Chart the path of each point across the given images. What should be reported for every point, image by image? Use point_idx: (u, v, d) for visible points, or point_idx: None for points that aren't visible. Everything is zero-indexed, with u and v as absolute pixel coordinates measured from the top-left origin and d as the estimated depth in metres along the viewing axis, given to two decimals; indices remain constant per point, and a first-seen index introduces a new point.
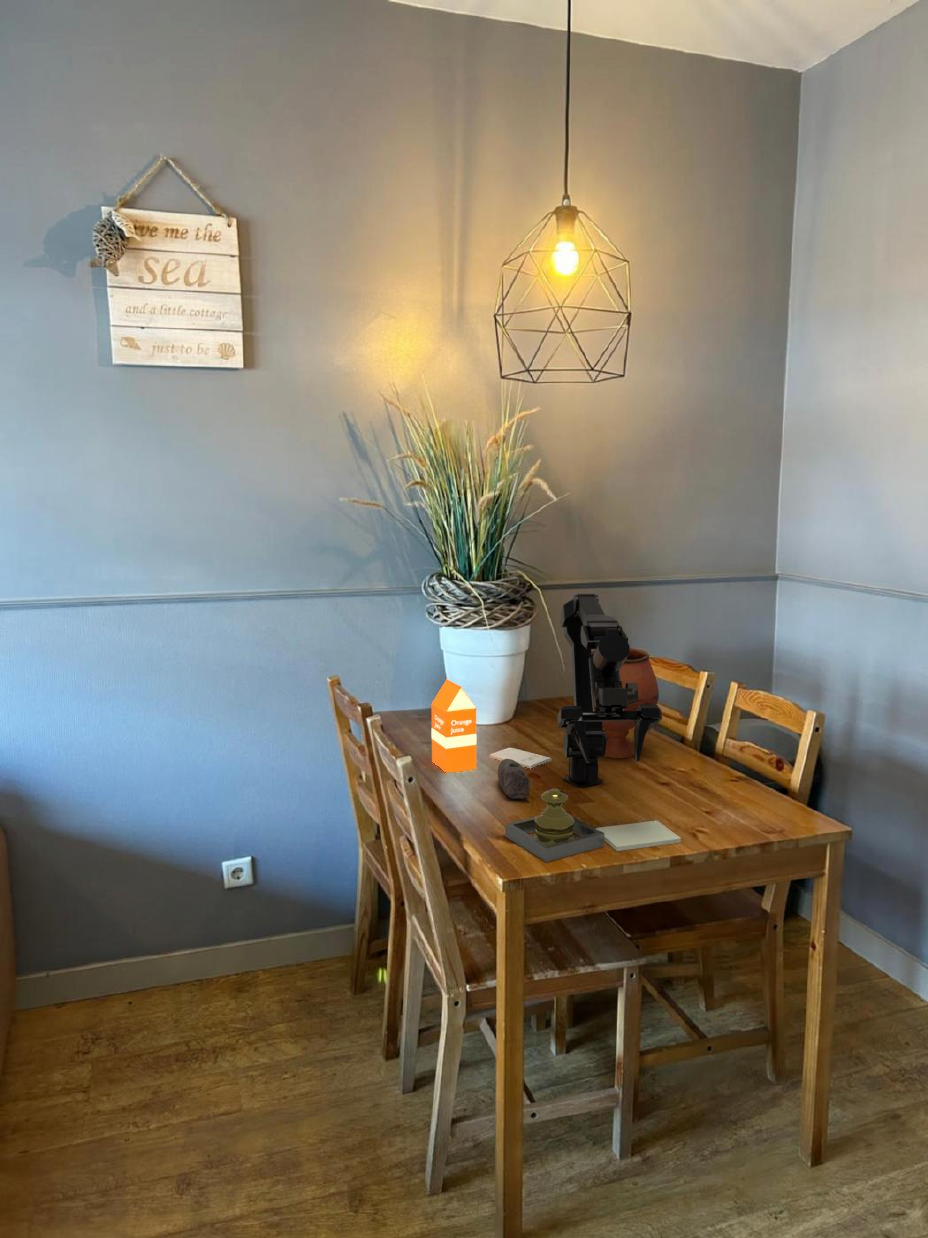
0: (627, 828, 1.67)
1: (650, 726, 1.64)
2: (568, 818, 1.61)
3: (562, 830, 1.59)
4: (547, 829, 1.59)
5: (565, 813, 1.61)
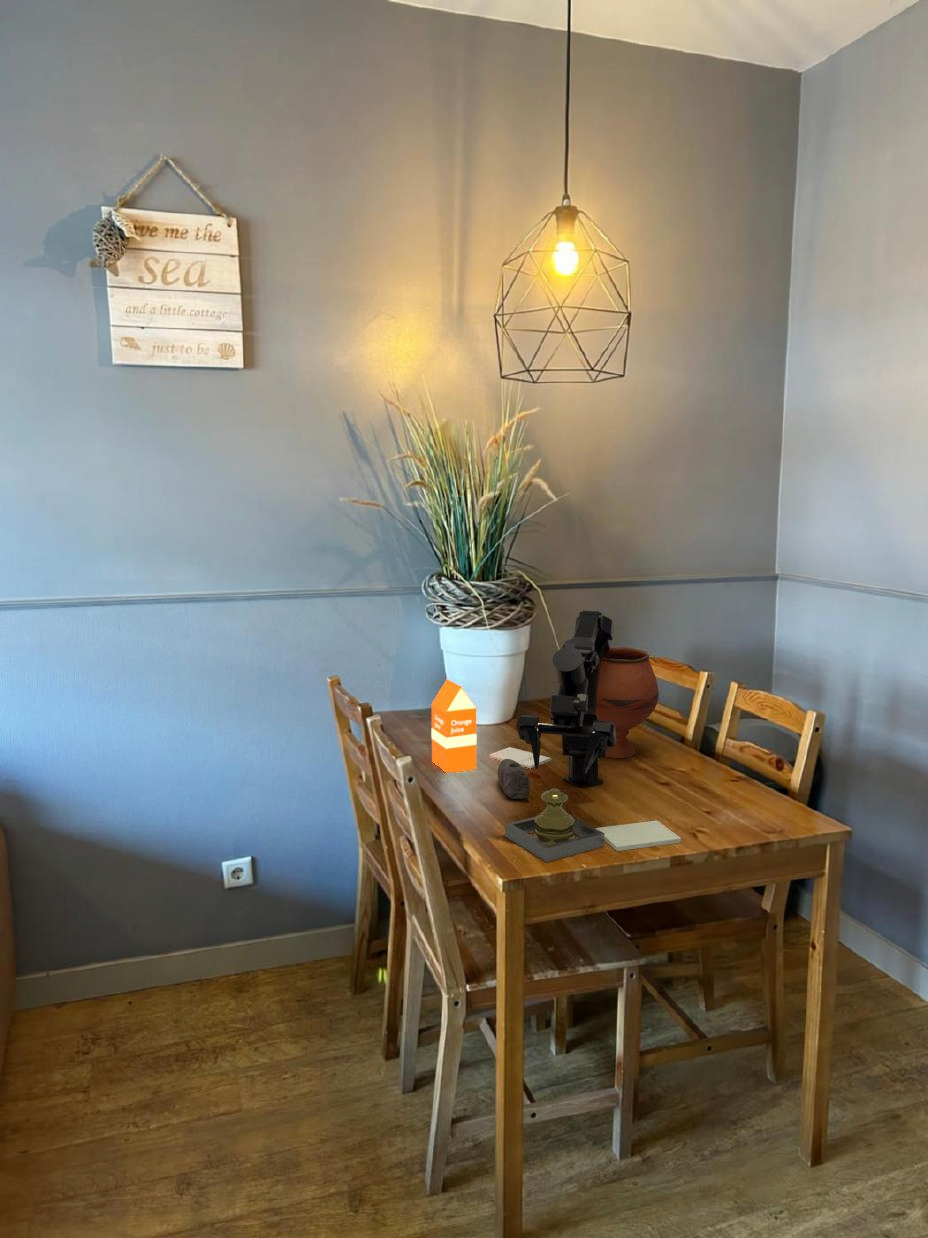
0: (627, 828, 1.67)
1: (603, 742, 1.67)
2: (568, 818, 1.61)
3: (562, 830, 1.59)
4: (547, 829, 1.59)
5: (565, 813, 1.61)
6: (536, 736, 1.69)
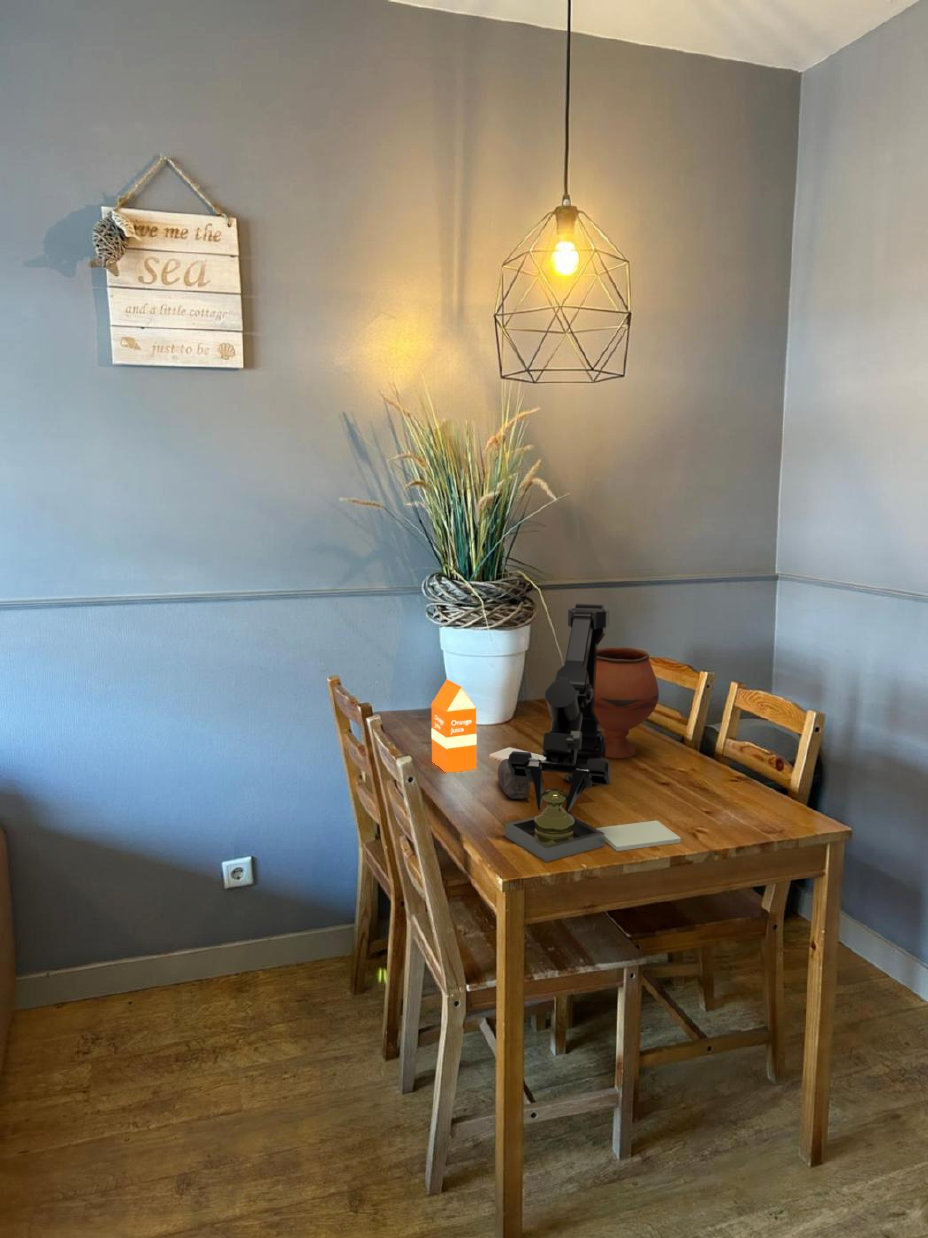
0: (627, 828, 1.67)
1: (587, 779, 1.62)
2: (568, 818, 1.61)
3: (562, 829, 1.59)
4: (547, 829, 1.59)
5: (565, 813, 1.61)
6: (539, 775, 1.63)
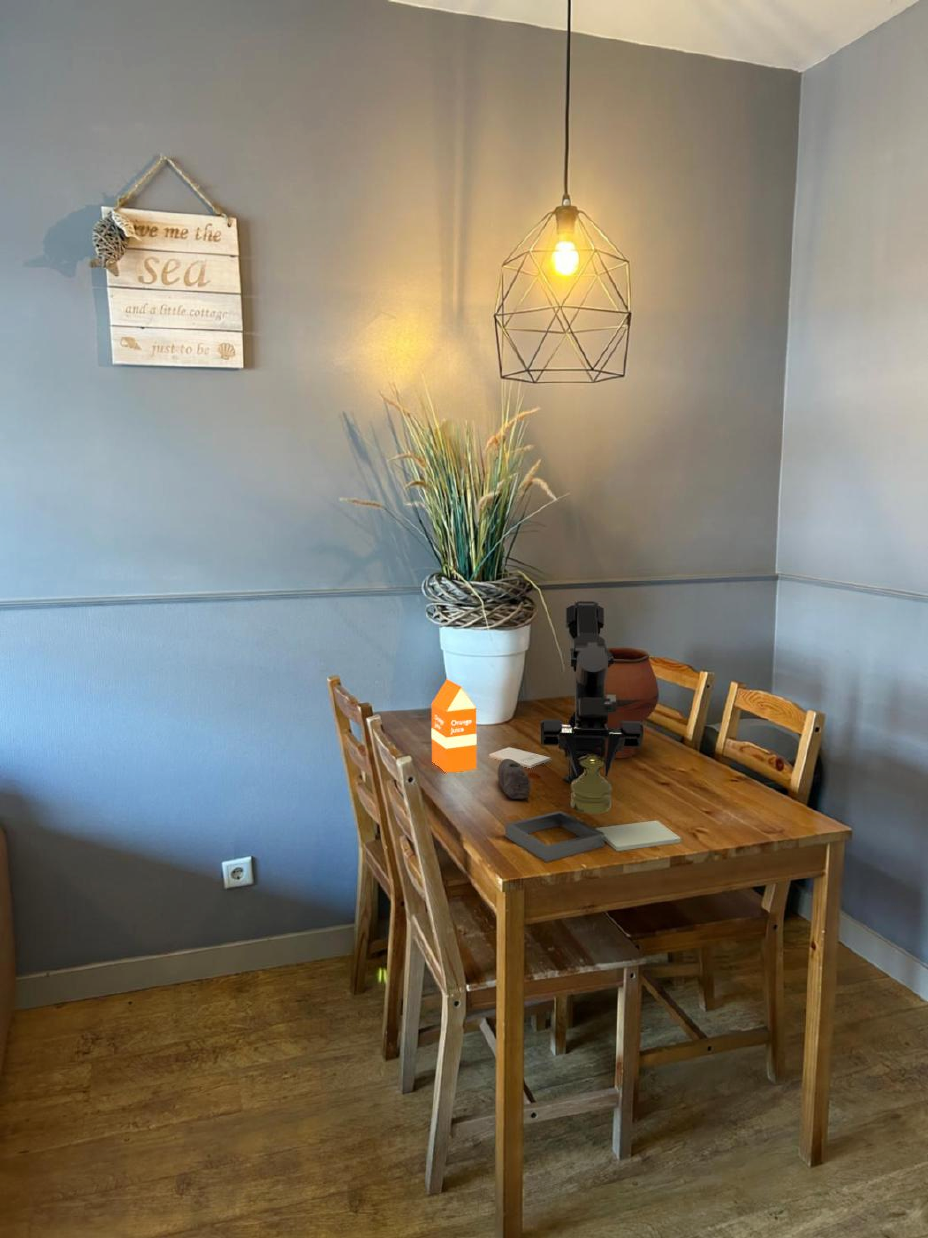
0: (627, 828, 1.67)
1: (621, 742, 1.62)
2: (606, 782, 1.60)
3: (603, 794, 1.58)
4: (588, 794, 1.58)
5: (602, 777, 1.61)
6: (574, 741, 1.61)
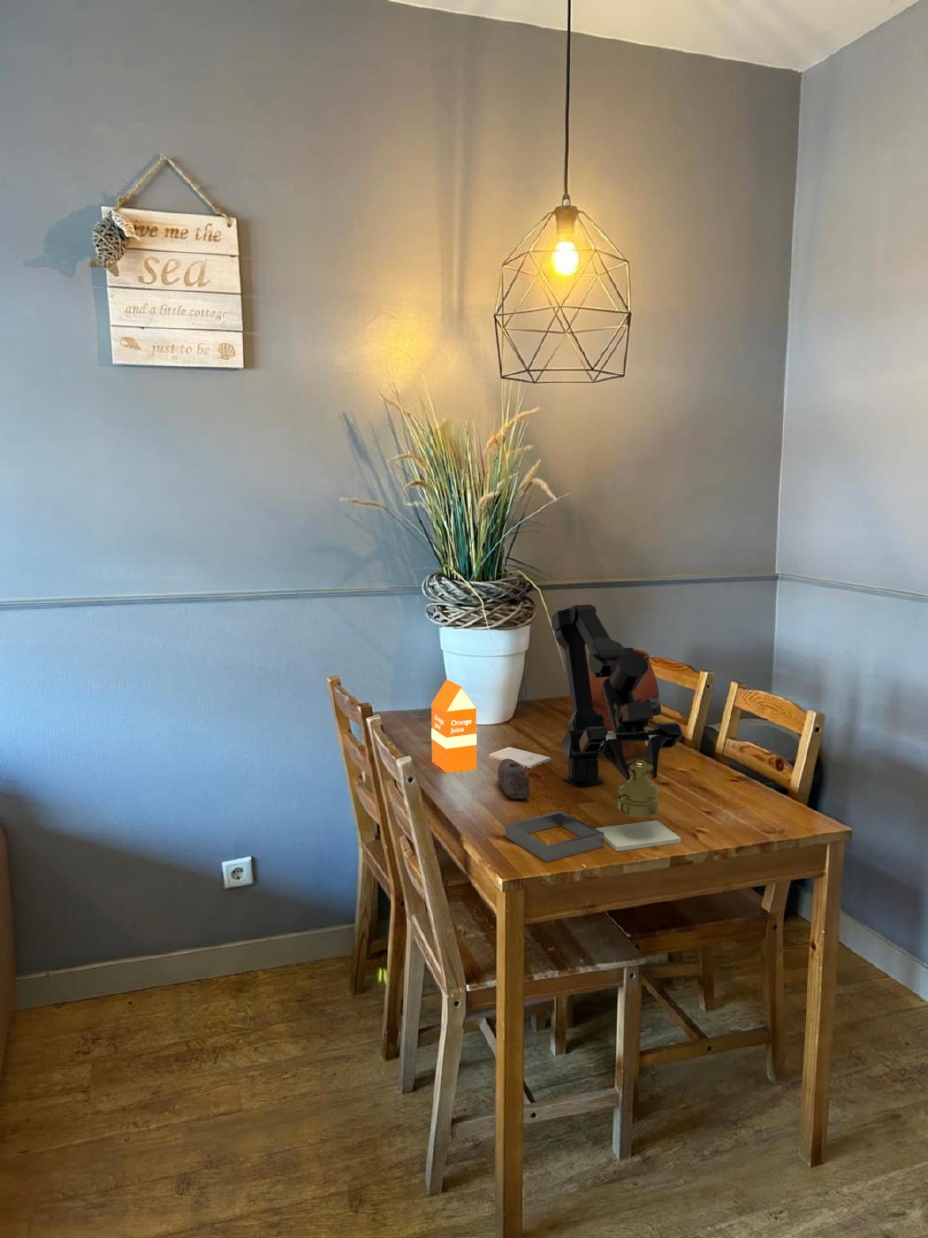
0: (627, 828, 1.67)
1: (661, 744, 1.66)
2: (653, 784, 1.63)
3: (655, 796, 1.61)
4: (643, 798, 1.60)
5: (649, 780, 1.63)
6: (621, 746, 1.63)
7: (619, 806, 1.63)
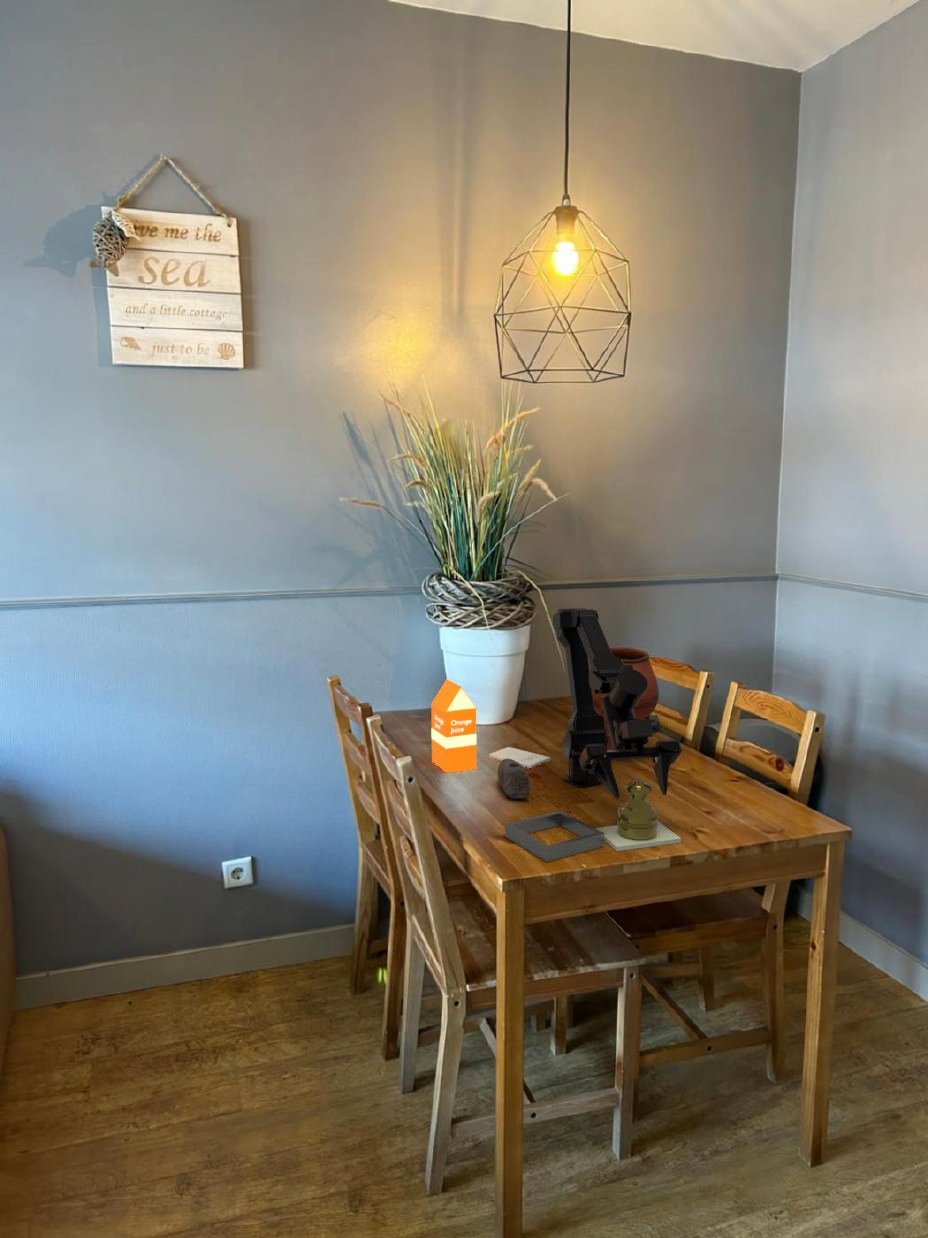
0: None
1: (671, 760, 1.67)
2: (652, 807, 1.64)
3: (654, 819, 1.61)
4: (642, 821, 1.60)
5: None
6: (610, 764, 1.63)
7: (618, 829, 1.64)
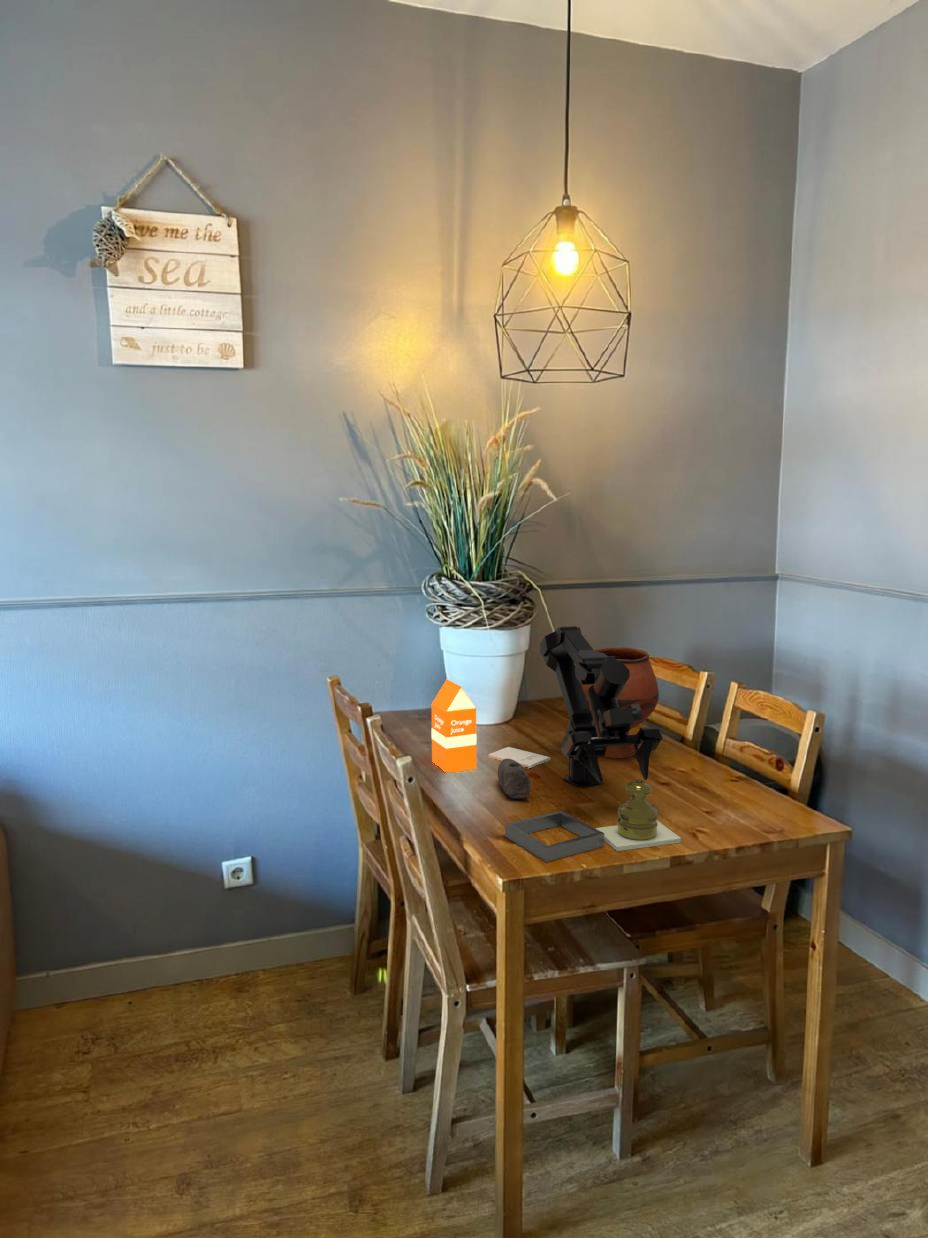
0: None
1: (652, 747, 1.75)
2: (652, 807, 1.64)
3: (654, 819, 1.61)
4: (642, 821, 1.60)
5: None
6: (594, 751, 1.71)
7: (618, 829, 1.64)
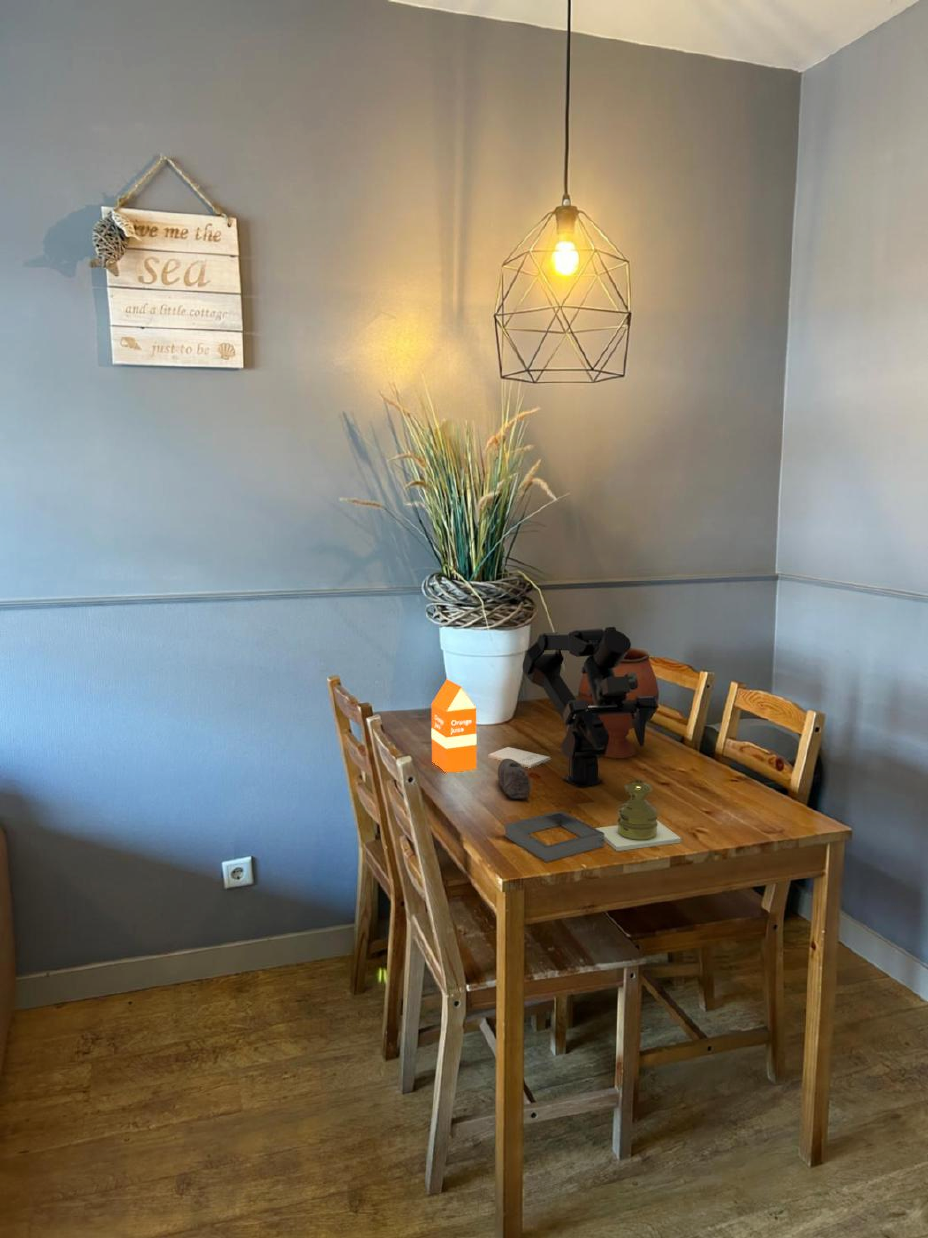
0: None
1: (648, 716, 1.79)
2: (652, 807, 1.64)
3: (654, 819, 1.61)
4: (642, 821, 1.60)
5: None
6: (591, 718, 1.75)
7: (618, 829, 1.64)
